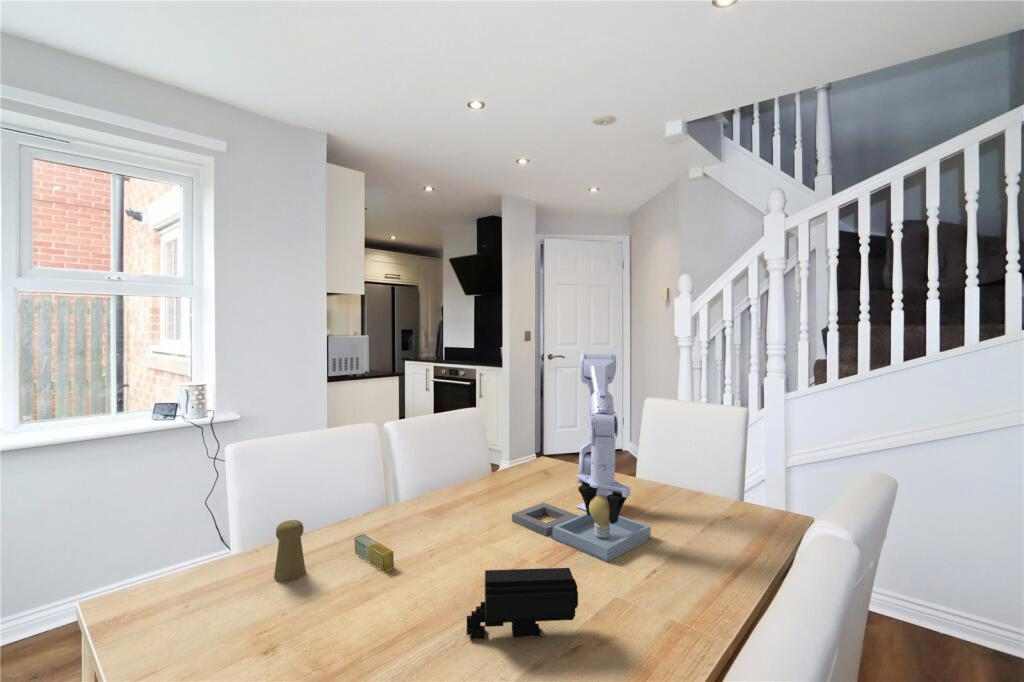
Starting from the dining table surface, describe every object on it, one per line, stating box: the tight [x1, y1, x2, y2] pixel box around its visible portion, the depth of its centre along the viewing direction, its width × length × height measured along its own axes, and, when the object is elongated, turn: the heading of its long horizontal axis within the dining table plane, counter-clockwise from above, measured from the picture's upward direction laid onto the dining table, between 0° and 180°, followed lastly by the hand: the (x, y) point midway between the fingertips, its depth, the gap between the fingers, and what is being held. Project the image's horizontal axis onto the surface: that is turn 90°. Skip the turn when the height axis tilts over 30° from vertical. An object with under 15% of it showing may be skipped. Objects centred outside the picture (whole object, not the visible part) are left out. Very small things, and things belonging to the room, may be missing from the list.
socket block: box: [511, 502, 580, 538], centre depth 129 cm, size 12×12×2 cm
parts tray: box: [552, 512, 652, 563], centre depth 120 cm, size 18×16×3 cm
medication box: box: [354, 533, 395, 572], centre depth 108 cm, size 12×3×4 cm, turn 48°
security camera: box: [466, 567, 579, 640], centre depth 83 cm, size 7×18×10 cm, turn 95°
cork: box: [273, 519, 307, 583], centre depth 101 cm, size 6×6×11 cm
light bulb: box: [589, 495, 610, 538], centre depth 120 cm, size 6×6×10 cm
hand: (602, 518), depth 120 cm, fingers closed on light bulb, 6 cm apart
